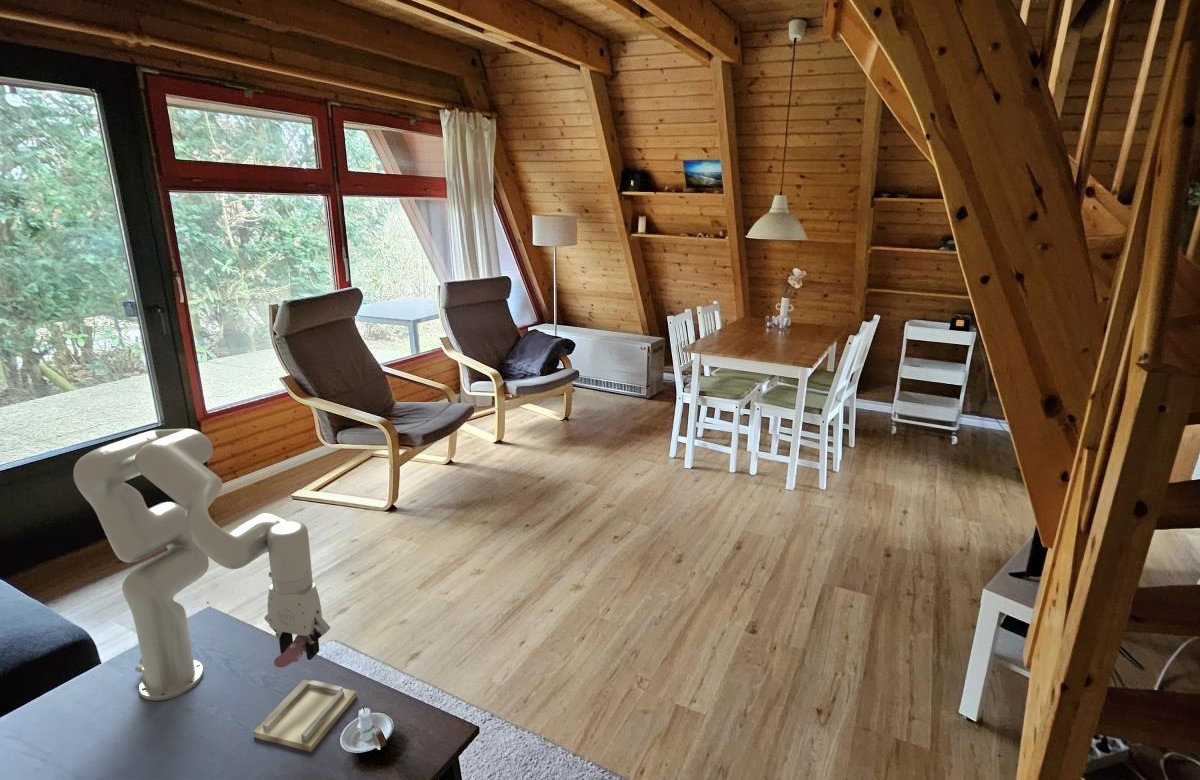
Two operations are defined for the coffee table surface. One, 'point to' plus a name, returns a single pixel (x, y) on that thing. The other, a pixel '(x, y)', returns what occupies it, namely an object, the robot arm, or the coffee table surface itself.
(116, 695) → the coffee table surface
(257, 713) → the coffee table surface
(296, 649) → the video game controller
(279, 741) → the dock
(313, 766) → the coffee table surface
